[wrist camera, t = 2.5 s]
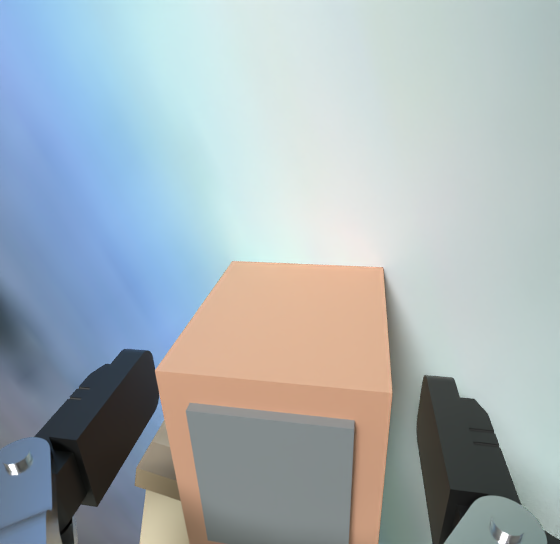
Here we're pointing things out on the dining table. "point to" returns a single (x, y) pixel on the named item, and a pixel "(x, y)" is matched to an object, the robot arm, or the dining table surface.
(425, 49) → the dining table surface
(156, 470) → the light wooden ridged board
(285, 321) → the frame block
